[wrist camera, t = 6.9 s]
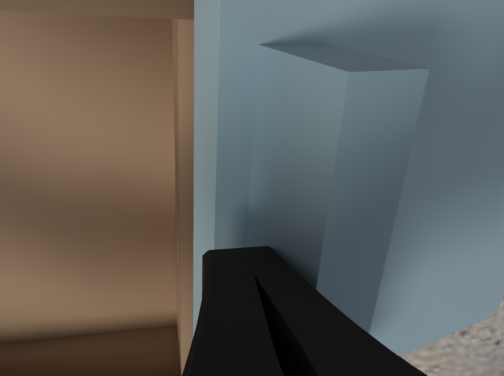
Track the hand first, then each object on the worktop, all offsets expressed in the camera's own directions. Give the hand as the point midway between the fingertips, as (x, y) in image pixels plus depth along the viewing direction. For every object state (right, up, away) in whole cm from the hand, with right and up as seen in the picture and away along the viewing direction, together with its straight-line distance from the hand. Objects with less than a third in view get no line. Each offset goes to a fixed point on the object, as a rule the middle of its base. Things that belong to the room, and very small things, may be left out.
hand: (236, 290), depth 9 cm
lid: (+4, +2, +4) cm, 6 cm away
